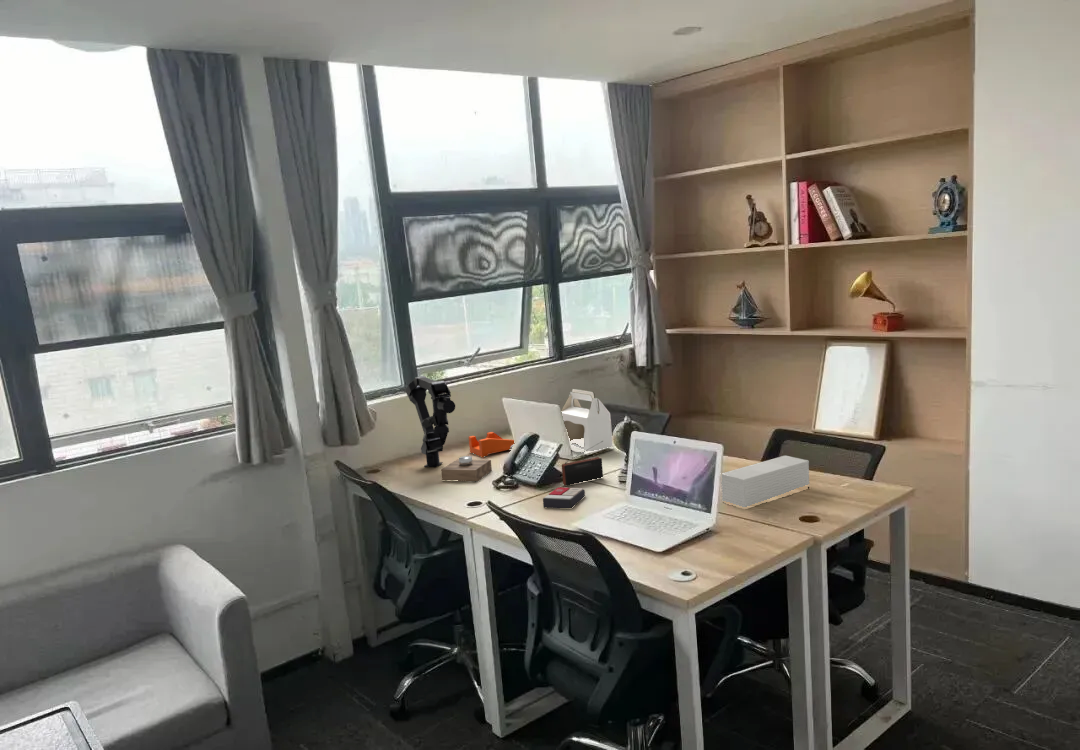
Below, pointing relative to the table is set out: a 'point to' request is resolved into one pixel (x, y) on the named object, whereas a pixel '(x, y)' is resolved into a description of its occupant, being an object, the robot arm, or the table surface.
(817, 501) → the table surface
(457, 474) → the walnut block
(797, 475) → the grey rectangular block
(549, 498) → the flat rectangular box
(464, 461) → the steel peg
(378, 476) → the table surface
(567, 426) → the gable box
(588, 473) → the radio
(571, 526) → the table surface
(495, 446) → the tape dispenser
